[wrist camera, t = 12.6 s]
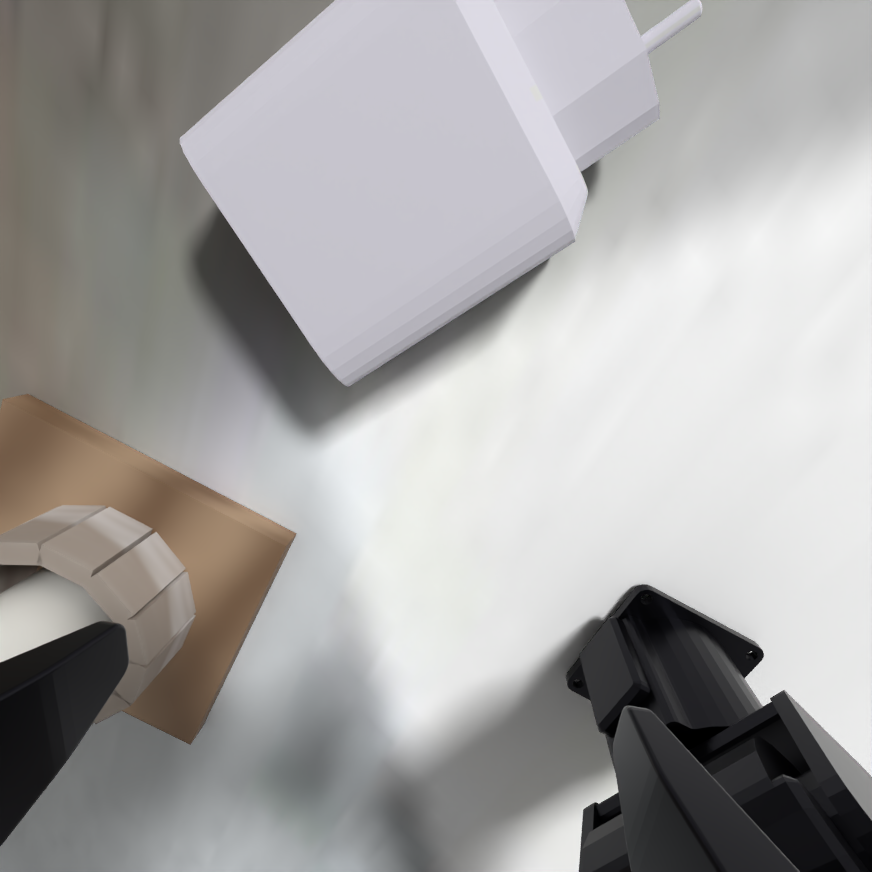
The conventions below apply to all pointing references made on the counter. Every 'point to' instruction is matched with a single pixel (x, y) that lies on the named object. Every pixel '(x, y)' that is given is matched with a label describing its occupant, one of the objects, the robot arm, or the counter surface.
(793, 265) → the counter surface
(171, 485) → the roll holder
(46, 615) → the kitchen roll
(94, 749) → the counter surface
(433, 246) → the charger
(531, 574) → the counter surface
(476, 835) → the counter surface
